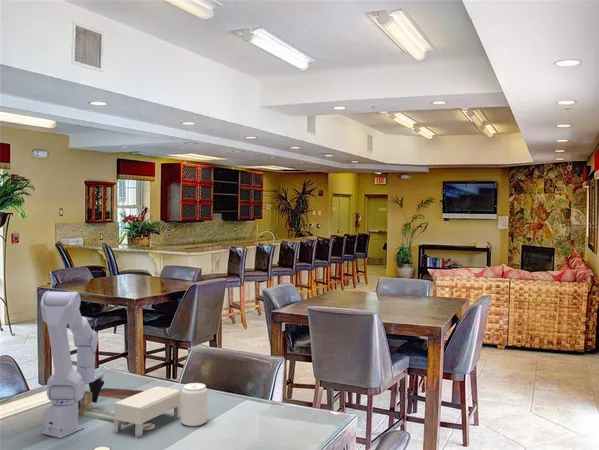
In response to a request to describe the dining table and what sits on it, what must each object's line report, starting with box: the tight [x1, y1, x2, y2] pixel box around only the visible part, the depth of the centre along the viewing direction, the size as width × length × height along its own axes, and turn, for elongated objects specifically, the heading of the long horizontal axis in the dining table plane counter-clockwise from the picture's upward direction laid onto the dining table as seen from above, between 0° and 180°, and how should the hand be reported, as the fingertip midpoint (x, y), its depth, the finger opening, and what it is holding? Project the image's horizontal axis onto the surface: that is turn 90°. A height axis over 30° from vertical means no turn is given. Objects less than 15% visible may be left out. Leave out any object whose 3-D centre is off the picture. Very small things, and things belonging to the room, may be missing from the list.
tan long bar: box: [78, 390, 131, 426], centre depth 183 cm, size 4×21×7 cm, turn 65°
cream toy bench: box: [113, 385, 182, 439], centre depth 178 cm, size 20×10×9 cm, turn 155°
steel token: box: [143, 422, 156, 431], centre depth 176 cm, size 4×4×1 cm
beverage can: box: [180, 382, 208, 427], centre depth 180 cm, size 8×8×12 cm
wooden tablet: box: [98, 387, 144, 400], centre depth 208 cm, size 26×2×10 cm
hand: (85, 405), depth 187 cm, fingers open, 7 cm apart
